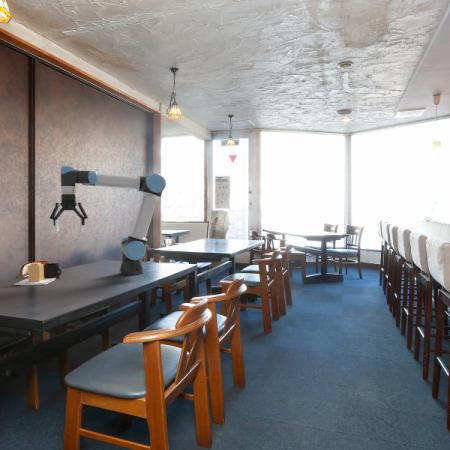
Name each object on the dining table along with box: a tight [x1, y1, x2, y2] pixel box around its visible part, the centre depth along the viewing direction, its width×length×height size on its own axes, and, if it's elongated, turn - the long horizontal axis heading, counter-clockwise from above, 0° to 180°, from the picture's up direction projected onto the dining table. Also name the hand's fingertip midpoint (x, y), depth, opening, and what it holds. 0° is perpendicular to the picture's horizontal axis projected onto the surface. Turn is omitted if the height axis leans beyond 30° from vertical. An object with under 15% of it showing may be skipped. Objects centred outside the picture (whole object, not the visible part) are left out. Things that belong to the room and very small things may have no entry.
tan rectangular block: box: [27, 262, 44, 282], centre depth 210 cm, size 6×6×10 cm
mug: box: [42, 262, 63, 280], centre depth 221 cm, size 9×12×9 cm
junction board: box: [14, 278, 57, 286], centre depth 211 cm, size 16×20×7 cm
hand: (69, 231), depth 210 cm, fingers open, 13 cm apart
